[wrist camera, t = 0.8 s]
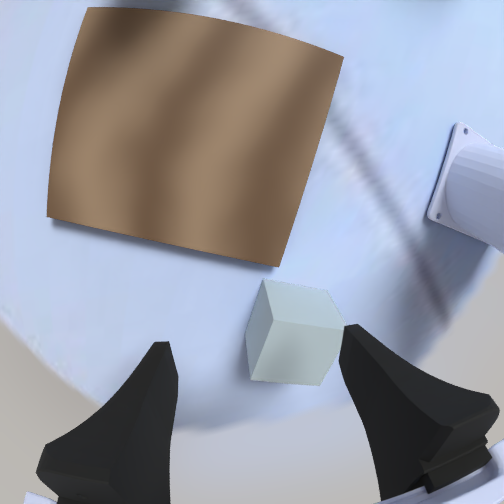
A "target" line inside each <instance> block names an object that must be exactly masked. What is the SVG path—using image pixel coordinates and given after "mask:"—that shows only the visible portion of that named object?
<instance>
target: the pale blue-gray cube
mask: <svg viewBox="0 0 504 504" xmlns="http://www.w3.org/2000/svg"><path fill="white" fill-rule="evenodd" d="M344 326H347V324H346V322H345V321H344V319H343V317H342V315H341V313H340V312H339V310H338V308H337V306H336V305H335V303H334V301H333V299H332V297H331V296H330V294H329V292H328V291H326V290H321V289H316V288H311V287H305V286H300V285H295V284H290V283H285V282H280V281H275V280H270V279H265V278H263V280H262V283H261V286H260V290H259V293H258V296H257V299H256V302H255V305H254V308H253V311H252V314H251V317H250V320H249V323H248V326H247V329H246V332H245V339H246V348H247V357H248V365H249V373H250V380H256V381H265V382H275V383H285V384H298V385H312V386H320V385H321V383H322V381H323V379H324V378H325V376H326V374H327V372H328V371H329V369H330V367H331V365H332V364H333V362H334V360H335V358H336V356H337V354H338V353H339V351H340V349H341V344H342V338H343V331H344Z"/></svg>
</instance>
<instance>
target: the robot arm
mask: <svg viewBox="0 0 504 504" xmlns="http://www.w3.org/2000/svg"><path fill="white" fill-rule="evenodd" d="M464 129H465V133H464ZM437 214H438V217H437V218H436V216H437ZM427 217H428V218H429V219H430V220H432V221H435V222H437V223H440V224H442V225H445V226H447V227H449V228H452V229H454V230H457V231H459V232H461V233H464V234H466V235H468V236H471V237H473V238H475V239H478V240H480V241H482V242H484V243H487V244H489V245H491V246H493V247H494V248H496V249H497V250H499V251H500V252H502V253H503V254H504V148H501V147H497V146H494V145H493V144H492V143H490V142H489V141H488V140H486V139H485V138H484V137H482V136H481V135H480V134H478V133H477V132H475V131H474V130H473V129H471V128H470V127H468V126H467V125H465V124H464V123H462V122H456V123H455V126H454V130H453V133H452V137H451V141H450V144H449V148H448V151H447V155H446V158H445V161H444V164H443V168H442V171H441V174H440V177H439V180H438V183H437V186H436V189H435V192H434V195H433V197H432V200H431V203H430V206H429V208H428V211H427ZM339 365H340V368H341V372H342V375H343V378H344V382H345V384H346V386H347V388H348V391H349V393H350V395H351V397H352V400H353V402H354V404H355V406H356V409H357V411H358V413H359V415H360V417H361V420H362V422H363V425H364V428H365V431H366V434H367V438H368V441H369V444H370V448H371V452H372V456H373V460H374V464H375V469H376V474H377V478H378V484H379V490H380V497H381V502H378V503H375V504H499V503H501V502H502V501H503V500H504V439H503V440H501V441H499V442H498V443H496V444H495V445H493V446H492V447H491V448H489V449H487V448H486V446H485V445H486V443H488V442H487V441H488V440H487V439H486V437H485V434H486V433H487V432H488V430H489V429H490V428H491V427H492V425H493V424H494V423H495V421H496V419H497V418H498V415H499V411H500V410H499V407H498V406H497V405H496V403H495V402H494V401H493V399H492V398H491V396H490V395H489V394H484V393H480V392H475V391H471V390H467V389H464V388H461V387H458V386H455V385H452V384H449V383H447V382H445V381H442V380H440V379H438V378H435V377H433V376H431V375H429V374H427V373H425V372H424V371H422V370H420V369H418V368H417V367H415V366H413V365H412V364H410V363H408V362H407V361H405V360H404V359H402V358H401V357H399V356H398V355H397V354H395V353H394V352H393V351H391V350H390V349H389V348H387V347H386V346H385V345H383V344H382V343H381V342H380V341H378V340H377V339H376V338H375V337H373V336H372V335H371V334H370V333H368V332H367V331H366V330H365V329H363V328H362V327H361V326H360V325H358V324H354V325H348V326H344V331H343V338H342V344H341V350H340V356H339ZM177 398H178V373H177V370H176V366H175V362H174V359H173V355H172V351H171V347H170V343H169V341H167V342H154V343H153V345H152V346H151V347H150V349H149V350H148V352H147V353H146V355H145V356H144V358H143V359H142V360H141V362H140V363H139V365H138V366H137V367H136V369H135V370H134V371H133V373H132V374H131V375H130V377H129V378H128V379H127V380H126V382H125V383H124V384H123V385H122V386H121V388H120V389H119V390H118V391H117V392H116V393H115V394H114V395H113V397H112V398H111V399H110V400H109V401H108V402H107V403H106V404H105V405H104V406H102V407H101V408H100V409H99V410H98V411H97V412H96V413H94V414H93V415H92V416H91V417H90V418H88V419H87V420H86V421H84V422H83V423H82V424H80V425H79V426H77V427H76V428H75V429H73V430H71V431H70V432H68V433H67V434H65V435H63V436H61V437H59V438H57V439H56V440H54V441H52V442H50V443H48V444H46V445H45V447H44V449H43V452H42V455H41V458H40V461H39V464H38V467H37V470H36V474H37V476H38V477H39V479H40V480H41V481H42V482H43V483H44V484H45V485H47V487H49V488H50V489H51V490H52V491H53V492H55V493H56V494H57V495H58V496H59V497H58V502H56V501H54V500H52V499H50V498H47V497H43V496H41V495H38V494H35V493H32V492H27V493H26V496H25V499H24V503H23V504H170V480H169V479H170V476H169V475H170V473H169V465H170V464H169V463H170V441H171V435H172V429H173V423H174V417H175V410H176V404H177Z"/></svg>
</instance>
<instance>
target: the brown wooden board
mask: <svg viewBox="0 0 504 504" xmlns="http://www.w3.org/2000/svg"><path fill="white" fill-rule="evenodd" d="M343 59H344V57H343V56H340V55H338V54H335V53H333V52H330V51H328V50H325V49H322V48H320V47H317V46H314V45H311V44H308V43H306V42H303V41H300V40H297V39H294V38H290V37H287V36H284V35H281V34H277V33H274V32H270V31H267V30H263V29H259V28H256V27H252V26H248V25H243V24H239V23H235V22H230V21H226V20H221V19H216V18H210V17H205V16H199V15H193V14H186V13H179V12H171V11H162V10H151V9H138V8H116V7H88V8H87V11H86V14H85V16H84V19H83V22H82V25H81V28H80V31H79V34H78V37H77V40H76V43H75V46H74V50H73V53H72V56H71V60H70V63H69V67H68V71H67V75H66V79H65V83H64V87H63V92H62V96H61V101H60V106H59V111H58V116H57V122H56V128H55V134H54V140H53V147H52V155H51V164H50V173H49V185H48V199H47V217H50V218H54V219H58V220H63V221H67V222H72V223H76V224H81V225H85V226H89V227H94V228H98V229H103V230H107V231H112V232H116V233H121V234H125V235H130V236H135V237H139V238H144V239H148V240H153V241H157V242H162V243H167V244H171V245H176V246H180V247H185V248H190V249H194V250H199V251H204V252H208V253H213V254H218V255H222V256H227V257H232V258H236V259H241V260H246V261H251V262H255V263H260V264H265V265H270V266H274V267H279V266H280V263H281V260H282V257H283V254H284V251H285V248H286V245H287V242H288V239H289V236H290V233H291V230H292V226H293V223H294V220H295V217H296V214H297V211H298V208H299V205H300V202H301V199H302V196H303V192H304V189H305V186H306V183H307V180H308V177H309V173H310V170H311V167H312V164H313V161H314V157H315V154H316V151H317V148H318V144H319V141H320V138H321V134H322V131H323V128H324V124H325V121H326V118H327V114H328V111H329V108H330V104H331V101H332V97H333V94H334V90H335V87H336V83H337V80H338V76H339V73H340V69H341V66H342V62H343Z"/></svg>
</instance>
